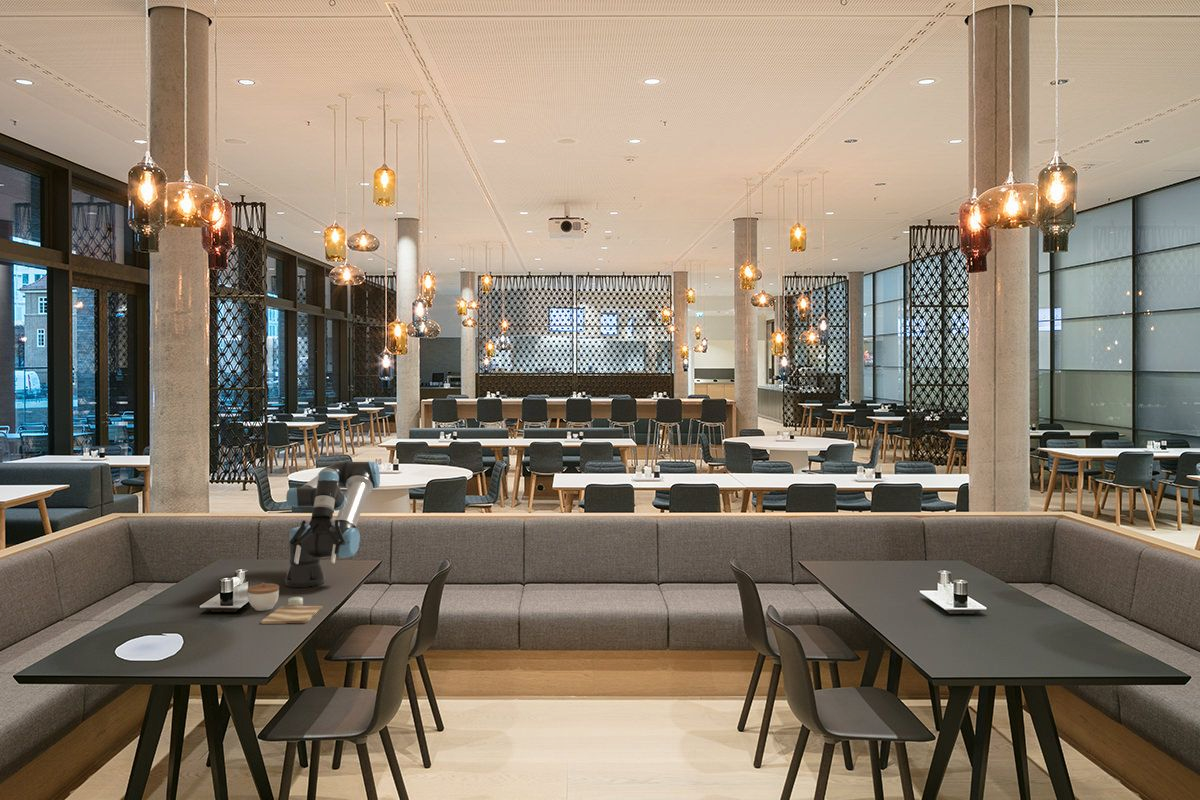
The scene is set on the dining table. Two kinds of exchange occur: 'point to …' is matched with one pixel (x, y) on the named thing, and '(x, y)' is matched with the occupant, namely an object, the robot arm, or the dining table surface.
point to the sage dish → (295, 601)
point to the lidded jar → (263, 596)
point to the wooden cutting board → (291, 614)
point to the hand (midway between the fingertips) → (314, 562)
